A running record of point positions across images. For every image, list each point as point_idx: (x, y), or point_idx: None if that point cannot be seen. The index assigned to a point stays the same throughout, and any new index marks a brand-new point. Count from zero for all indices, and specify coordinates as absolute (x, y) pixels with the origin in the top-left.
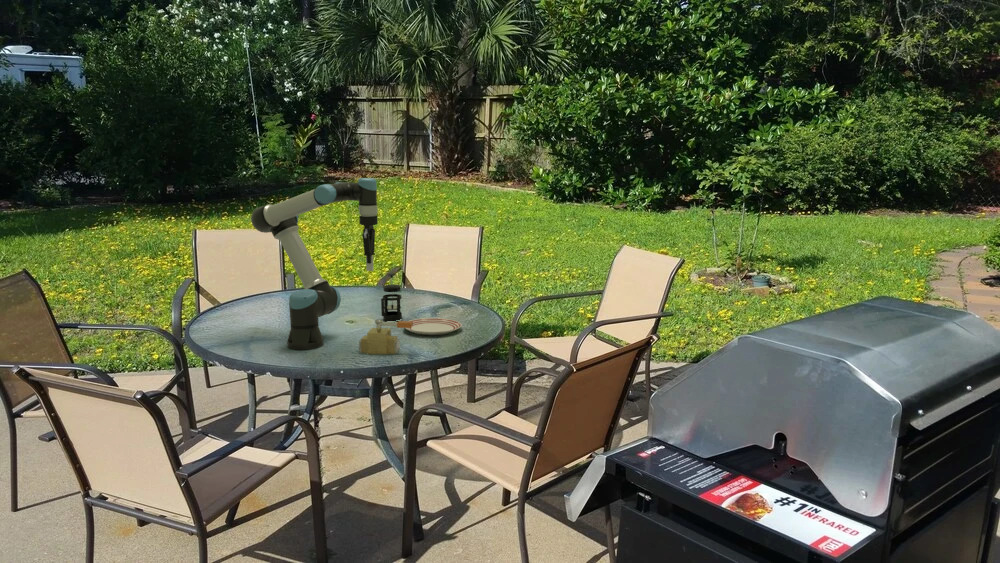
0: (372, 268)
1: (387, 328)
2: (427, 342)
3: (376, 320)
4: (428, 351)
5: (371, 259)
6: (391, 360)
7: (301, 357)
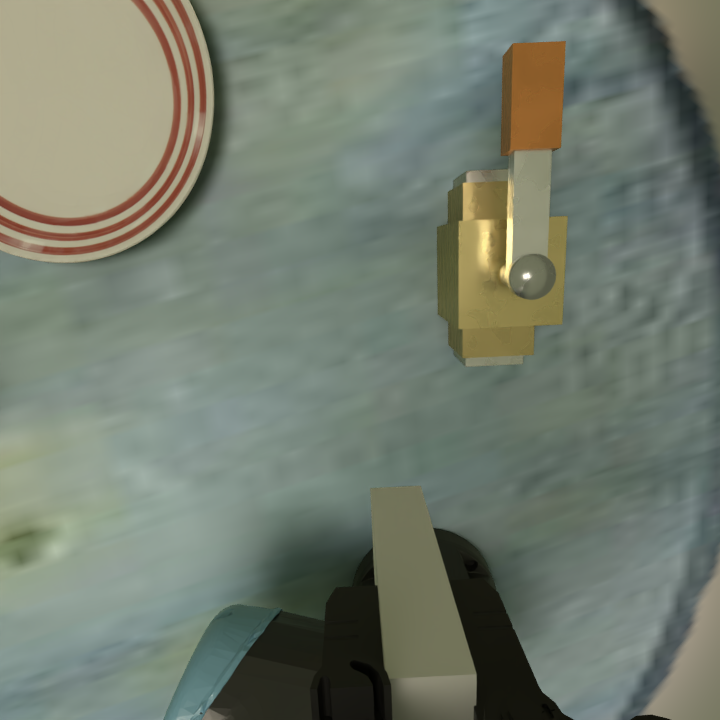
0: (425, 506)
1: (459, 240)
2: (299, 69)
3: (534, 291)
4: (456, 25)
5: (454, 622)
6: (610, 176)
7: (582, 545)
